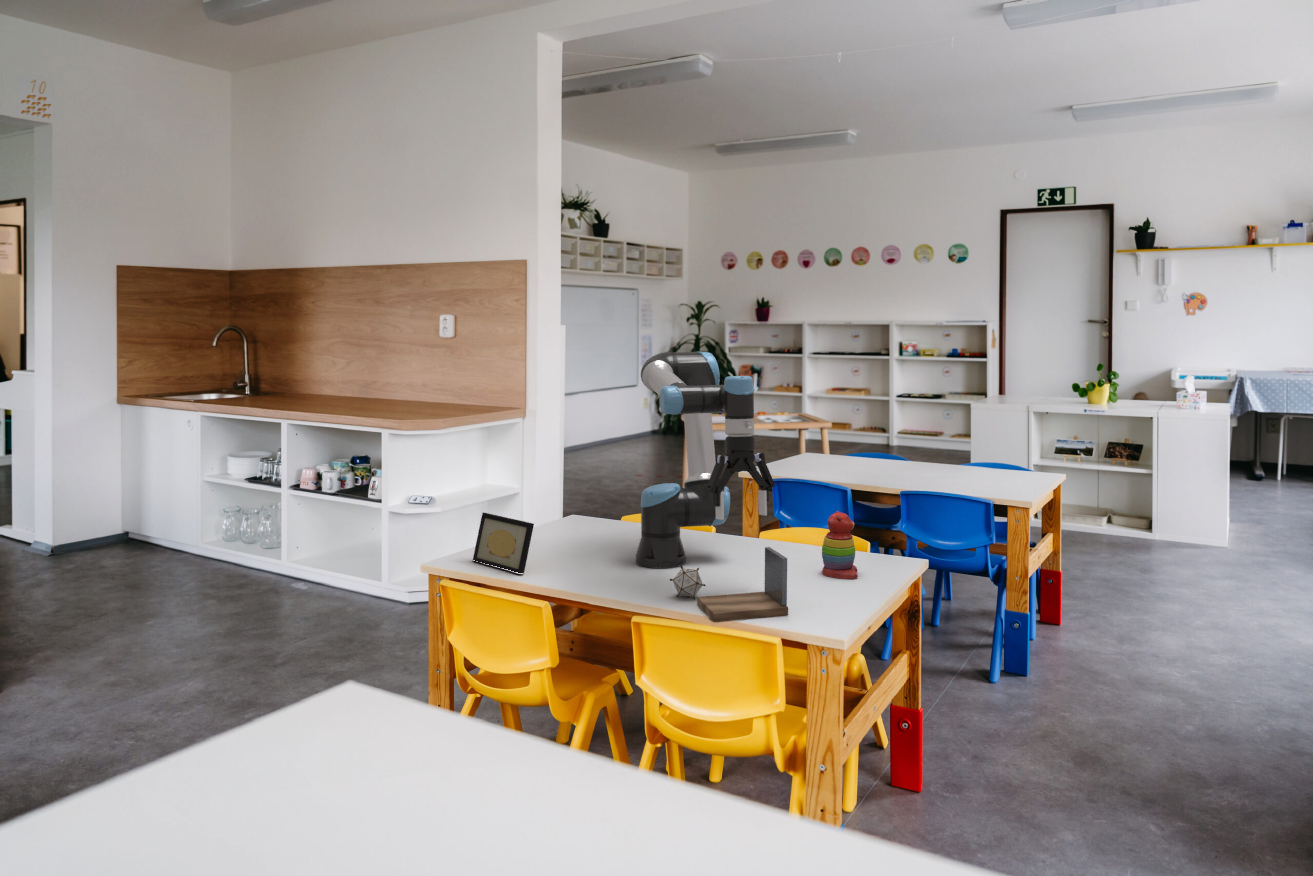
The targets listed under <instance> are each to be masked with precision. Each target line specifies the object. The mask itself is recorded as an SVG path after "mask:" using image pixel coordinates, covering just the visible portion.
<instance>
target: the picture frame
mask: <svg viewBox="0 0 1313 876" xmlns="http://www.w3.org/2000/svg"><path fill="white" fill-rule="evenodd" d="M481 513H482V514H481V518H480V523H479V527H478V533H477V538H476V543H475V546H474V547H475V548H474V551H473V557H472V561H473V560H475V561H478V562H482V563H485V564H489V565H493V566H497V567H500V568H504V569H508V570H511V571H514V572H518V573H524V574H525V570H526V564H527V560H528V555H529V550H530V546H531V540H532V535H533V530H534V525H535V523H533V522H529V521H524V520H519V519H515V518H510V517H506V516H502V515H498V514H493V513H489V512H488V513H487V512H481Z"/></svg>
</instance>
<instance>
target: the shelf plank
mask: <svg viewBox="0 0 1313 876" xmlns="http://www.w3.org/2000/svg"><path fill="white" fill-rule="evenodd" d="M696 601H697V602H696V603H697V606H698V607H699V608H700V609H701V610H702V611H703V612H704V613H705V614H706V615H707V616H708V617H709V618H710V619H711V620H712V621H713V623H717V622H727V621H739V620H748V619H749V620H750V619H759V618H770V617H771V618H772V617H784V616H789V606H788V605H787V606H781V605H780V604H778V603H777V602H776V601H775V600H773V599H772V598H771V597H769V596H768V595H767V594H766V593H765V591H754V592H743V593H731V594H717V595H705V596H697V599H696Z"/></svg>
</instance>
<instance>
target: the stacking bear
mask: <svg viewBox="0 0 1313 876" xmlns="http://www.w3.org/2000/svg"><path fill="white" fill-rule="evenodd" d="M827 526H828V530H829V531H828V532H827V533H826V535H825V536H824V538H823V543H822V545H821V557H822V563H823V568H822V571H821V572H822V574H823V576H826V577H829V578H834V579H835V578H836V579H843V580H856V579H858V576H859V574H858V573H857V572H858V568H857V566H856V565H854V562H855V558H856V546H855V541H854V537H853V534H852V533H851V532H852V530H853V529H854V527H855V522H854V521H853V520H851V518H850V517H849V515H848V514H846V513H844V512H840V511H839V510H837V511H835V512H834V513H833V514H830V516H829V517H828V519H827Z"/></svg>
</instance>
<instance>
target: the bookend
mask: <svg viewBox="0 0 1313 876" xmlns="http://www.w3.org/2000/svg"><path fill="white" fill-rule="evenodd" d="M764 592H765V593H766V594H767V595H768V596H769V597H771V598H772V599H773V600H775V601H776V602H777V603H778V604H780V605H781V606H787V607H788V604H787V603H788V558H787V557H786V556H784V555H783V554H782V553H780V552H778V551H776V550H775V549H773V548H772V547H770V546H764Z"/></svg>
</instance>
